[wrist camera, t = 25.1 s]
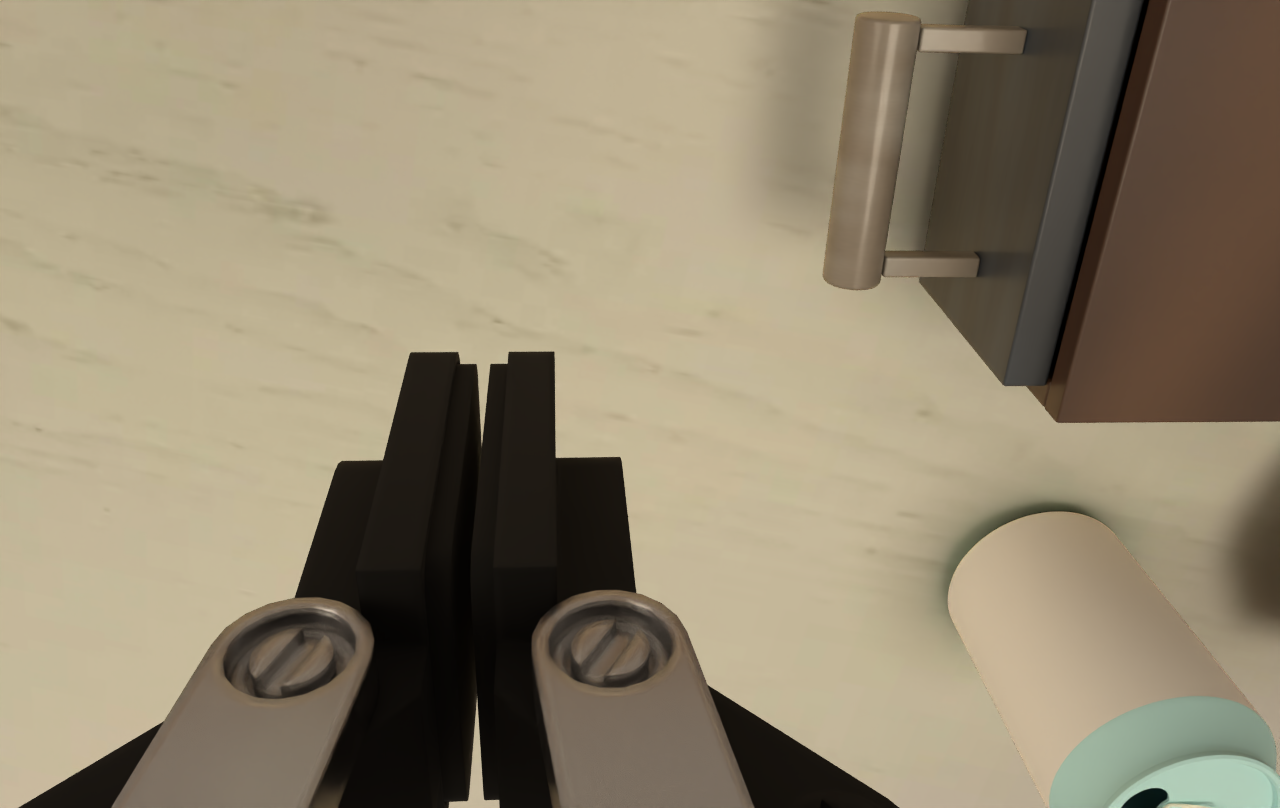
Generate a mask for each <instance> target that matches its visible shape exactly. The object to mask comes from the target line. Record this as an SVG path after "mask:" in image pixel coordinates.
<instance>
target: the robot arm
mask: <svg viewBox="0 0 1280 808" xmlns="http://www.w3.org/2000/svg"><path fill="white" fill-rule="evenodd" d="M477 699H478V715H479V730H480V746H481V761H482V777H483V792H484V800H499V802H500V808H899V807H897V806H896V805H895V804H894V803H893V802H891V801H890V800H889V799H888V798H886V797H884V796H883V795H881V794H880V793H878V792H876V791H875V790H873V789H872V788H870V787H869V786H867V785H865V784H864V783H862V782H861V781H859V780H857V779H856V778H854V777H853V776H851V775H849V774H848V773H846V772H845V771H843V770H842V769H840V768H838V767H837V766H835V765H834V764H832V763H830V762H829V761H827V760H826V759H824V758H822V757H821V756H819V755H818V754H816V753H815V752H813V751H811V750H810V749H808V748H807V747H805V746H803V745H802V744H800V743H799V742H797V741H795V740H794V739H792V738H791V737H789V736H787V735H786V734H784V733H783V732H781V731H780V730H778V729H776V728H775V727H773V726H772V725H770V724H768V723H767V722H765V721H764V720H762V719H760V718H759V717H757V716H756V715H754V714H753V713H751V712H749V711H748V710H746V709H745V708H743V707H741V706H740V705H738V704H737V703H735V702H733V701H732V700H730V699H729V698H727V697H726V696H724V695H722V694H721V693H719V692H718V691H716V690H714V689H713V688H711V687H710V686H708V685H707V683H706V680H705V677H704V675H703V672H702V670H701V667H700V664H699V662H698V659H697V657H696V654H695V651H694V649H693V646H692V644H691V641H690V638H689V636H688V633H687V631H686V629H685V628H684V626H683V624H682V623H681V621H680V620H679V618H678V617H677V615H675V614H674V613H673V612H672V611H671V610H669V609H668V608H667V607H666V606H664V605H663V604H662V603H660V602H658V601H655V600H653V599H651V598H649V597H646V596H644V595H642V594H637V593H636V587H635V578H634V569H633V560H632V550H631V541H630V532H629V523H628V514H627V505H626V496H625V487H624V478H623V469H622V462H621V458H620V457H591V458H556V455H555V357H554V352H509V355H508V364H491V365H490V374H489V384H488V393H487V403H486V413H485V422H484V432H483V442H482V445H481V426H480V407H479V388H478V372H477V365H476V364H460V358H459V354H458V352H412V353H410V355H409V359H408V363H407V367H406V371H405V375H404V379H403V383H402V387H401V391H400V395H399V399H398V403H397V407H396V411H395V415H394V419H393V423H392V427H391V431H390V435H389V439H388V443H387V447H386V451H385V455H384V459H383V460H379V461H341V462H340V463H338V465H337V468H336V470H335V473H334V476H333V479H332V482H331V485H330V488H329V491H328V495H327V498H326V501H325V504H324V507H323V510H322V513H321V517H320V520H319V523H318V526H317V529H316V532H315V535H314V539H313V542H312V545H311V548H310V551H309V554H308V557H307V561H306V564H305V567H304V570H303V573H302V576H301V579H300V582H299V586H298V589H297V592H296V595H295V598H292V599H287V600H283V601H279V602H274V603H270V604H267V605H265V606H262V607H260V608H258V609H256V610H253V611H251V612H249V613H246V614H245V615H243V616H242V617H240V618H239V619H238V620H236V621H235V622H233V623H232V624H230V625H229V626H228V627H226V628H225V629H224V630H223V632H222V633H221V634H220V635H219V636H218V637H217V639H216V640H215V641H214V642H213V643H212V644H211V646H210V648H209V649H208V651H207V652H206V654H205V656H204V657H203V659H202V661H201V662H200V664H199V665H198V667H197V669H196V670H195V672H194V674H193V675H192V677H191V678H190V680H189V682H188V683H187V685H186V687H185V688H184V690H183V691H182V693H181V695H180V696H179V698H178V700H177V701H176V703H175V704H174V706H173V708H172V709H171V711H170V713H169V714H168V716H167V717H166V719H165V721H164V722H162V723H160V724H159V725H157V726H155V727H154V728H152V729H150V730H149V731H147V732H145V733H143V734H142V735H140V736H138V737H137V738H135V739H133V740H132V741H130V742H128V743H127V744H125V745H123V746H122V747H120V748H118V749H117V750H115V751H113V752H111V753H110V754H108V755H106V756H105V757H103V758H101V759H100V760H98V761H96V762H95V763H93V764H91V765H90V766H88V767H86V768H85V769H83V770H81V771H79V772H78V773H76V774H74V775H73V776H71V777H69V778H68V779H66V780H64V781H63V782H61V783H59V784H58V785H56V786H54V787H53V788H51V789H49V790H47V791H46V792H44V793H42V794H41V795H39V796H37V797H36V798H34V799H32V800H31V801H29V802H27V803H26V804H24V805H22V806H21V807H19V808H449V802H454V801H467V800H468V797H469V789H470V776H471V764H472V751H473V739H474V726H475V714H476V702H477Z"/></svg>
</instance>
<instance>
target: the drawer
mask: <svg viewBox="0 0 1280 808" xmlns="http://www.w3.org/2000/svg"><path fill="white" fill-rule="evenodd" d="M1148 4H1149V0H969V1H968V7H967V12H966V18H965V24H964V25H943V24H921V19H920V18H918V17H916V16H913V15H909V14H903V13H894V12H863V13H860V14H857V16H856V18H855V25H854V33H853V41H852V49H851V57H850V64H849V72H848V80H847V88H846V95H845V103H844V111H843V119H842V127H841V134H840V142H839V150H838V158H837V165H836V173H835V181H834V189H833V197H832V204H831V212H830V220H829V228H828V235H827V243H826V251H825V259H824V267H823V278H824V280H825V281H826V282H827V283H829V284H831V285H833V286H836V287H839V288H843V289H849V290H867V289H872V288H874V287H876V286H878V284H879V283H880V280H881V274H882V275H883V276H884V277H920V278H919V282H920V284H921V285H922V286H923V287H924V289H925V290H926V291H927V292H928V294H929V295H930V296H931V297H932V298H933V300H934V301H935V302H936V303H937V305H938V306H939V307H940V308H941V309H942V311H943V312H944V313H945V314H946V316H947V317H948V318H949V319H950V321H951V322H952V323H953V324H954V325H955V327H956V328H957V329H958V330H959V332H960V333H961V334H962V335H963V337H964V338H965V339H966V340H967V341H968V343H969V344H970V345H971V346H972V348H973V349H974V350H975V351H976V353H977V354H978V355H979V356H980V357H981V359H982V360H983V361H984V362H985V364H986V365H987V366H988V367H989V368H990V370H991V371H992V372H993V373H994V375H995V376H996V377H997V378H998V380H999V381H1000V382H1001V383H1002V384H1003V385H1004V386H1045V385H1046V383H1047V380H1048V376H1049V372H1050V368H1051V364H1052V360H1053V356H1054V352H1055V348H1056V344H1057V340H1058V336H1059V332H1060V328H1061V324H1062V325H1063V326H1064V327H1066V323H1067V320H1068V316H1069V312H1070V308H1071V304H1072V300H1073V296H1074V292H1075V288H1076V284H1077V281H1078V277H1079V273H1080V269H1081V265H1082V261H1083V257H1084V253H1085V249H1086V246H1087V242H1088V238H1089V234H1090V230H1091V226H1092V222H1093V218H1094V214H1095V210H1096V207H1097V203H1098V199H1099V195H1100V191H1101V187H1102V183H1103V179H1104V175H1105V172H1106V168H1107V164H1108V160H1109V156H1110V152H1111V148H1112V144H1113V140H1114V137H1115V133H1116V129H1117V125H1118V121H1119V117H1120V113H1121V109H1122V105H1123V101H1124V98H1125V94H1126V90H1127V86H1128V82H1129V78H1130V74H1131V70H1132V66H1133V63H1134V59H1135V55H1136V51H1137V47H1138V43H1139V39H1140V35H1141V31H1142V27H1143V24H1144V20H1145V16H1146V12H1147V8H1148ZM917 50H918V51H919V52H935V53H959V58H958V63H957V69H956V75H955V80H954V86H953V91H952V97H951V103H950V108H949V114H948V120H947V125H946V131H945V137H944V142H943V148H942V153H941V159H940V165H939V170H938V176H937V182H936V187H935V193H934V199H933V204H932V210H931V216H930V221H929V227H928V232H927V238H926V244H925V249H924V251H885V248H886V242H887V236H888V229H889V223H890V217H891V210H892V204H893V198H894V191H895V185H896V179H897V172H898V166H899V160H900V153H901V147H902V141H903V134H904V128H905V122H906V115H907V109H908V103H909V96H910V90H911V84H912V77H913V71H914V65H915V58H916V52H917Z"/></svg>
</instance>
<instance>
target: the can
mask: <svg viewBox="0 0 1280 808" xmlns="http://www.w3.org/2000/svg"><path fill="white" fill-rule="evenodd" d="M948 608H949V613H950V616H951V619H952V621H953V623H954V625H955V627H956V629H957V631H958V633H959V635H960V637H961V639H962V641H963V643H964V645H965V647H966V649H967V651H968V653H969V655H970V657H971V659H972V661H973V663H974V665H975V667H976V669H977V671H978V673H979V675H980V677H981V679H982V681H983V683H984V685H985V687H986V689H987V691H988V693H989V695H990V697H991V699H992V701H993V703H994V704H995V706H996V708H997V710H998V712H999V714H1000V716H1001V718H1002V720H1003V722H1004V724H1005V726H1006V728H1007V730H1008V732H1009V734H1010V736H1011V738H1012V740H1013V742H1014V744H1015V746H1016V748H1017V750H1018V752H1019V754H1020V756H1021V758H1022V760H1023V762H1024V764H1025V766H1026V768H1027V770H1028V772H1029V774H1030V776H1031V778H1032V780H1033V782H1034V784H1035V786H1036V788H1037V790H1038V792H1039V793H1040V795H1041V797H1042V799H1043V801H1044V803H1045V805H1046V807H1047V808H1280V776H1279V775H1278V774H1277V772H1276V754H1277V753H1276V745H1275V741H1274V738H1273V735H1272V733H1271V731H1270V729H1269V727H1268V725H1267V724H1266V722H1265V721H1264V720H1263V718H1262V717H1261V716H1260V715H1259V713H1258V712H1257V711H1256V710H1255V708H1254V707H1253V706H1252V705H1251V703H1250V702H1249V701H1248V700H1247V698H1246V697H1245V696H1244V695H1243V693H1242V692H1241V691H1240V690H1239V688H1238V687H1237V686H1236V685H1235V683H1234V682H1233V681H1232V680H1231V678H1230V677H1229V676H1228V675H1227V673H1226V672H1225V671H1224V670H1223V668H1222V667H1221V666H1220V665H1219V663H1218V662H1217V661H1216V660H1215V658H1214V657H1213V656H1212V655H1211V653H1210V652H1209V651H1208V650H1207V648H1206V647H1205V646H1204V645H1203V643H1202V642H1201V641H1200V640H1199V638H1198V637H1197V636H1196V635H1195V633H1194V632H1193V631H1192V630H1191V628H1190V627H1189V626H1188V625H1187V624H1186V622H1185V621H1184V620H1183V619H1182V617H1181V616H1180V615H1179V614H1178V612H1177V611H1176V610H1175V609H1174V607H1173V606H1172V605H1171V604H1170V602H1169V601H1168V600H1167V599H1166V597H1165V596H1164V595H1163V594H1162V592H1161V591H1160V590H1159V589H1158V587H1157V586H1156V585H1155V584H1154V582H1153V581H1152V580H1151V579H1150V577H1149V576H1148V575H1147V574H1146V572H1145V571H1144V570H1143V569H1142V567H1141V566H1140V565H1139V564H1138V562H1137V561H1136V560H1135V559H1134V557H1133V556H1132V555H1131V554H1130V552H1129V551H1128V550H1127V549H1126V547H1125V546H1124V545H1123V544H1122V542H1121V541H1120V540H1119V539H1118V537H1117V536H1116V535H1115V534H1114V533H1113V532H1112V531H1111V530H1110V529H1109V528H1108V527H1107V526H1106V525H1104V524H1103V523H1101V522H1100V521H1098V520H1096V519H1094V518H1091V517H1089V516H1086V515H1082V514H1078V513H1072V512H1061V511H1059V512H1044V513H1038V514H1033V515H1029V516H1025V517H1022V518H1019V519H1016V520H1014V521H1011V522H1009V523H1007V524H1005V525H1003V526H1001V527H999V528H997V529H996V530H994V531H992V532H991V533H989V534H988V535H987V536H985V537H984V538H983V539H981V540H980V541H979V542H978V543H977V544H976V545H975V546H974V547H973V548H972V549H971V550H970V551H969V552H968V553H967V554H966V555H965V556H964V558H963V559H962V561H961V562H960V563H959V565H958V567H957V569H956V570H955V573H954V575H953V577H952V580H951V583H950V586H949V591H948Z"/></svg>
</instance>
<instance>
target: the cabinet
mask: <svg viewBox="0 0 1280 808" xmlns="http://www.w3.org/2000/svg"><path fill="white" fill-rule="evenodd" d="M1026 387H1027V388H1028V389H1029V390H1030V391H1031V392H1032V394H1033V395H1034V396H1035V397H1036V398H1037V399H1038V401H1039V402H1040V403H1041V404H1042V405H1043V406H1044V407H1045V409H1046V411H1047V412H1048V413H1049V414H1050V415H1051V417H1052V418H1053V419H1054V420H1055V421H1056V422H1058V423H1097V422H1263V421H1280V0H1149V4H1148V8H1147V12H1146V16H1145V20H1144V24H1143V27H1142V31H1141V35H1140V39H1139V43H1138V47H1137V51H1136V55H1135V59H1134V63H1133V66H1132V70H1131V74H1130V78H1129V82H1128V86H1127V90H1126V94H1125V98H1124V101H1123V105H1122V109H1121V113H1120V117H1119V121H1118V125H1117V129H1116V133H1115V137H1114V140H1113V144H1112V148H1111V152H1110V156H1109V160H1108V164H1107V168H1106V172H1105V175H1104V179H1103V183H1102V187H1101V191H1100V195H1099V199H1098V203H1097V207H1096V210H1095V214H1094V218H1093V222H1092V226H1091V230H1090V234H1089V238H1088V242H1087V246H1086V249H1085V253H1084V257H1083V261H1082V265H1081V269H1080V273H1079V277H1078V281H1077V284H1076V288H1075V292H1074V296H1073V300H1072V304H1071V308H1070V312H1069V316H1068V320H1067V323H1066V327H1064V326H1063V325H1062V324H1061V328H1060V332H1059V336H1058V340H1057V344H1056V348H1055V352H1054V356H1053V360H1052V364H1051V368H1050V372H1049V376H1048V380H1047V383H1046V385H1045V386H1026Z"/></svg>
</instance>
